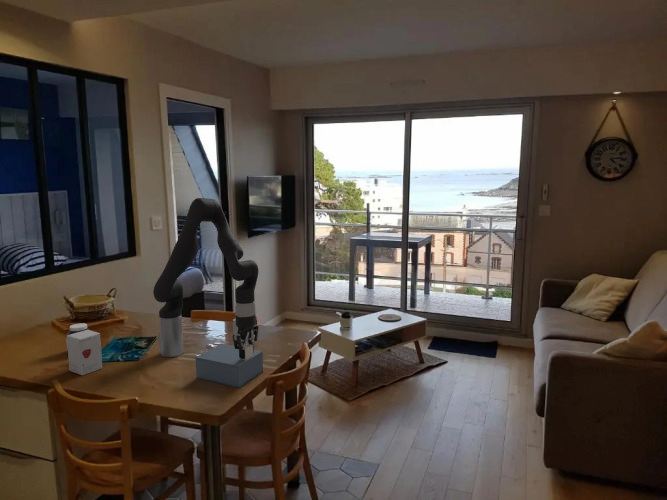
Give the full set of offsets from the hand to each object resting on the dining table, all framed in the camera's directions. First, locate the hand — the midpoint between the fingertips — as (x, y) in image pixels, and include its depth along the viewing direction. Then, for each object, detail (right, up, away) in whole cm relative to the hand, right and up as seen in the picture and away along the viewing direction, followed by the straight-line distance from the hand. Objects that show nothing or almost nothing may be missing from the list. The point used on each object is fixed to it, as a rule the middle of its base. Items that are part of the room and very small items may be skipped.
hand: (246, 355), depth 182 cm
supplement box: (-66, -8, +10) cm, 68 cm away
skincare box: (-7, -5, +30) cm, 31 cm away
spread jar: (-79, -5, +28) cm, 84 cm away
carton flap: (-7, -1, +3) cm, 8 cm away
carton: (-7, -9, +5) cm, 12 cm away
